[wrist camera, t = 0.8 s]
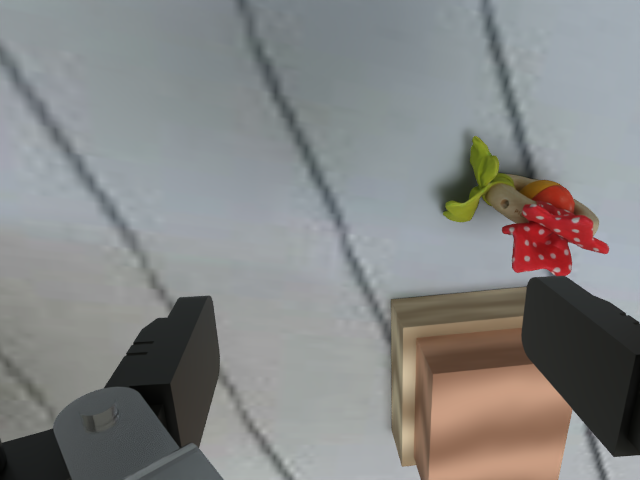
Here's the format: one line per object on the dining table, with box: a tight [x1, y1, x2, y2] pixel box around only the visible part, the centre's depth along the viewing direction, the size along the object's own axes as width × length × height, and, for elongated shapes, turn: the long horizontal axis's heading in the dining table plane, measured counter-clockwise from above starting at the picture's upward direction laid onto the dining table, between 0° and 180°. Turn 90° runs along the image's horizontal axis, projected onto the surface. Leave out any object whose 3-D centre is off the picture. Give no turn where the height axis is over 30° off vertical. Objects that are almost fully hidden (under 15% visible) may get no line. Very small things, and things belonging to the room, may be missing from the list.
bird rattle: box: [443, 136, 609, 276], centre depth 28 cm, size 6×11×9 cm
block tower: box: [391, 287, 572, 480], centre depth 35 cm, size 14×12×8 cm
